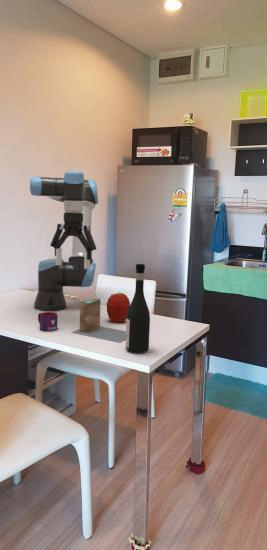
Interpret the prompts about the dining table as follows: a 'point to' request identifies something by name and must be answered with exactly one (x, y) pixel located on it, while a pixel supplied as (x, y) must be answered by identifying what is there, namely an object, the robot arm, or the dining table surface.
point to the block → (89, 315)
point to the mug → (48, 321)
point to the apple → (118, 307)
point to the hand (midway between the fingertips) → (72, 266)
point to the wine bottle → (138, 317)
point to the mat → (105, 334)
